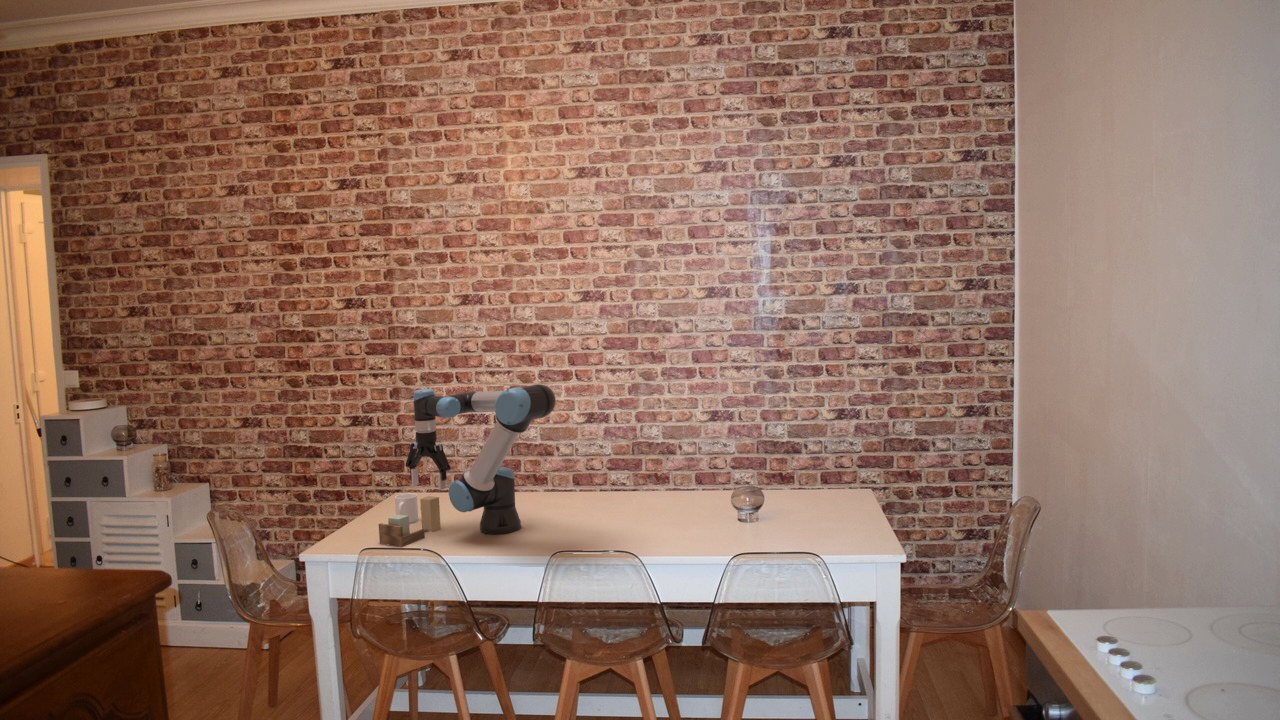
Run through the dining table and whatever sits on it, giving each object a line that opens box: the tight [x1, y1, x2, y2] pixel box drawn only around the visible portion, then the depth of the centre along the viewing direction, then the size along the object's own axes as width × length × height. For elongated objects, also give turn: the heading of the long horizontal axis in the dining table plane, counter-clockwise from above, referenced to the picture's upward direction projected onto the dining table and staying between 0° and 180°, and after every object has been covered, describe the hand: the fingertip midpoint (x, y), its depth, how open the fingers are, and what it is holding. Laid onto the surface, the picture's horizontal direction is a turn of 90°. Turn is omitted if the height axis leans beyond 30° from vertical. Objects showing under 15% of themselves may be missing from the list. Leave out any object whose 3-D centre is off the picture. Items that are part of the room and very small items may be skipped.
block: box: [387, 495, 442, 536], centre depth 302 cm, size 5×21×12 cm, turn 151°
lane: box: [378, 522, 425, 548], centre depth 297 cm, size 10×12×7 cm
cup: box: [394, 492, 419, 525], centre depth 320 cm, size 8×12×10 cm
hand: (428, 487), depth 309 cm, fingers open, 13 cm apart
